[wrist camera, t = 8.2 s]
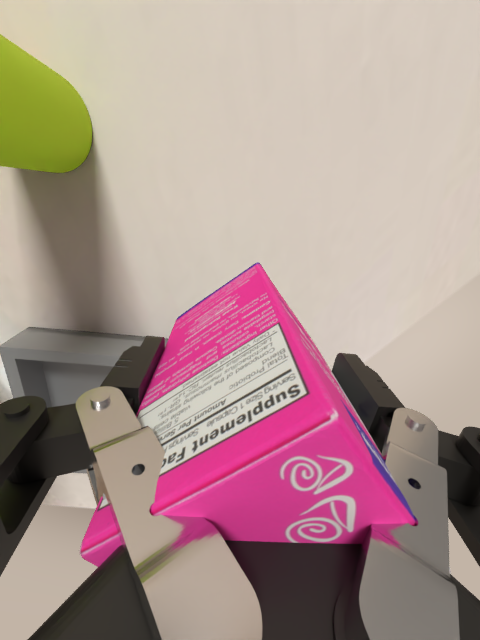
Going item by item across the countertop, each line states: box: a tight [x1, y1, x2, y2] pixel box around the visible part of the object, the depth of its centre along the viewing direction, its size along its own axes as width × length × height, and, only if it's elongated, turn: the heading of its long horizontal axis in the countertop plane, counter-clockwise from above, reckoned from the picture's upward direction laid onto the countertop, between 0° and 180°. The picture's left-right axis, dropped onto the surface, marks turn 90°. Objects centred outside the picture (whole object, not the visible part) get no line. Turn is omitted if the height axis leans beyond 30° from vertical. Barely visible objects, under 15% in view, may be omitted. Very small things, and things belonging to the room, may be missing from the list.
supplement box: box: [80, 263, 451, 573], centre depth 11 cm, size 6×6×12 cm
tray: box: [0, 327, 168, 473], centre depth 26 cm, size 16×14×4 cm
